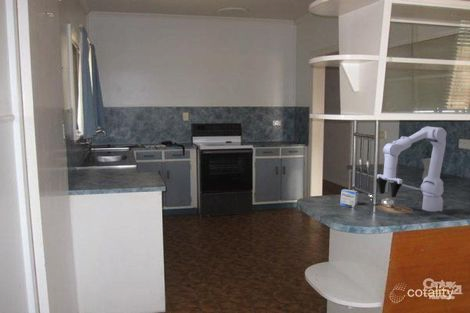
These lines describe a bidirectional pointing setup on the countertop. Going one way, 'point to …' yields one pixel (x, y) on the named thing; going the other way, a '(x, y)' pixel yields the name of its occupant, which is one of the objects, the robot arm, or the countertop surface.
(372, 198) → the dial gauge
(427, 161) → the coffeepot
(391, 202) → the metal cover
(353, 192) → the medicine box
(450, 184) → the countertop surface
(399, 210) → the turntable
